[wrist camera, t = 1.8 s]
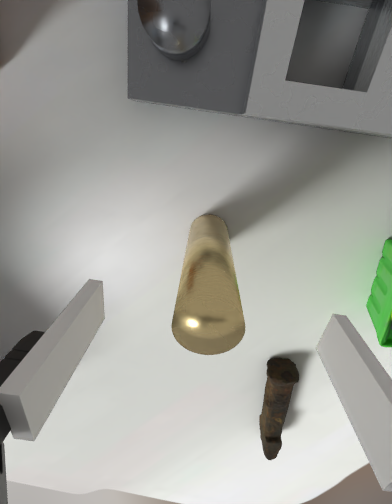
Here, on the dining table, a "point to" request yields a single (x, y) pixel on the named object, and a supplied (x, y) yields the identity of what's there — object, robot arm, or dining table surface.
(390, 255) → the fruit basket
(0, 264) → the dining table surface
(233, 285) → the toggle switch lever
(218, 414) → the dining table surface
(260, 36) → the slotted base plate
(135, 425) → the dining table surface
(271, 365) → the hand tool
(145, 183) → the dining table surface
